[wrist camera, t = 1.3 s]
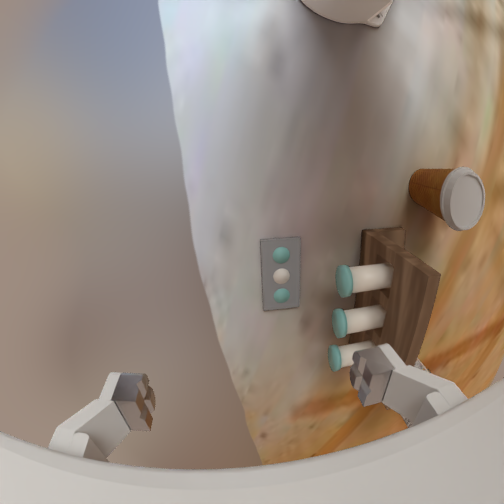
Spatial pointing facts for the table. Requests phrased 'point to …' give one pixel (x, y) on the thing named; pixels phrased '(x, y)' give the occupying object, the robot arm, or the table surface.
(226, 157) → the table surface
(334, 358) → the button
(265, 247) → the card
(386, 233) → the brown wooden rack
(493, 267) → the table surface
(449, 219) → the disposable coffee cup
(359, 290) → the button
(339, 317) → the button middle
